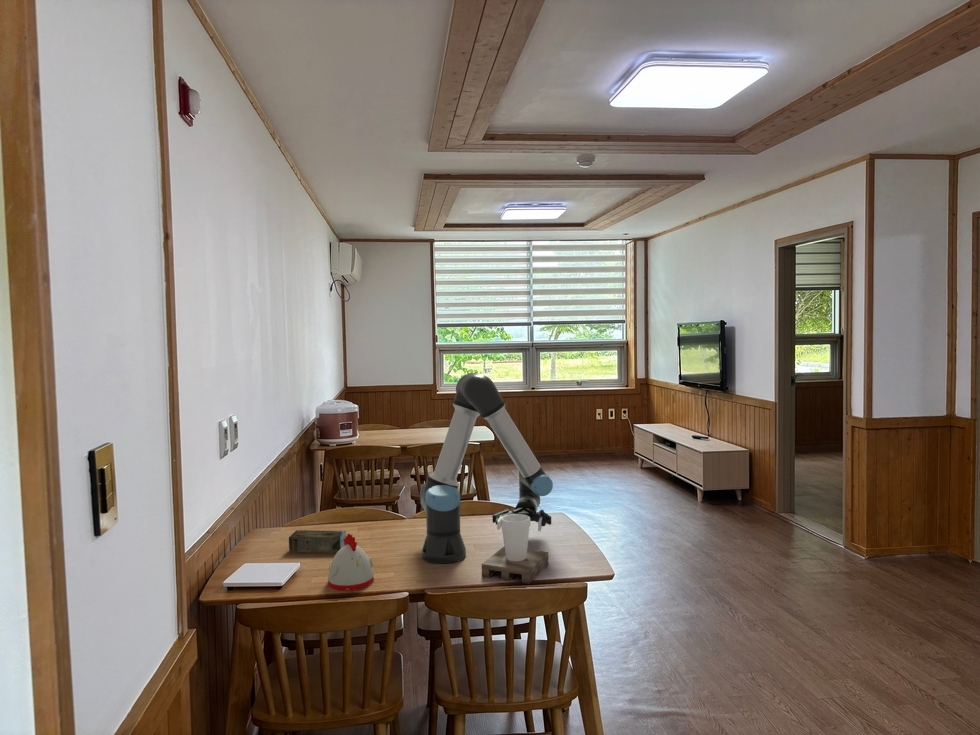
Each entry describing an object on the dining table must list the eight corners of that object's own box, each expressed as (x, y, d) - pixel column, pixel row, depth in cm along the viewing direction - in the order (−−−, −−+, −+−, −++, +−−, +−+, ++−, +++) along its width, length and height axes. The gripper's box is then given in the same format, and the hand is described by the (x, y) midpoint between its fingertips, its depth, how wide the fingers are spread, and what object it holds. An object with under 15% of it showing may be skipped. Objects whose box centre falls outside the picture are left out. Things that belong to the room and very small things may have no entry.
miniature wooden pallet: (529, 583, 192) (529, 570, 191) (481, 576, 198) (481, 563, 198) (548, 564, 208) (548, 552, 208) (504, 557, 215) (503, 546, 214)
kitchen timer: (338, 594, 186) (337, 544, 185) (321, 580, 197) (319, 533, 197) (381, 583, 194) (380, 535, 194) (362, 570, 205) (361, 525, 205)
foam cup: (536, 558, 202) (536, 518, 201) (514, 565, 196) (513, 524, 196) (517, 550, 210) (516, 512, 209) (495, 557, 204) (495, 517, 203)
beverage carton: (341, 553, 222) (340, 535, 222) (287, 554, 223) (287, 535, 223) (347, 546, 230) (346, 528, 230) (295, 546, 231) (295, 528, 231)
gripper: (560, 520, 226) (556, 538, 205) (492, 518, 231) (481, 536, 210) (560, 499, 226) (556, 516, 205) (492, 497, 230) (481, 513, 209)
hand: (518, 526), depth 207 cm, fingers open, 13 cm apart
